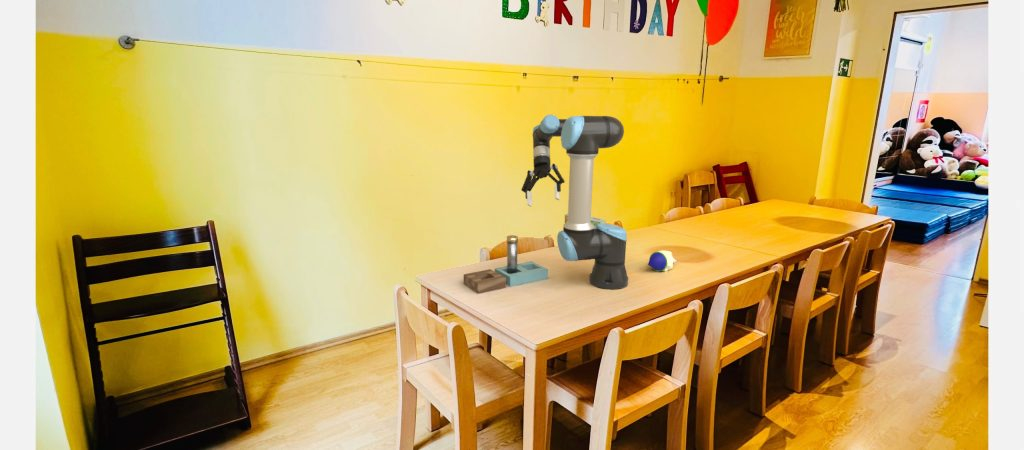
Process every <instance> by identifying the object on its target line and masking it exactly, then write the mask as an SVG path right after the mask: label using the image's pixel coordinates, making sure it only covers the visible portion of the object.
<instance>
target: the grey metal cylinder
mask: <svg viewBox="0 0 1024 450" xmlns="http://www.w3.org/2000/svg"><path fill="white" fill-rule="evenodd" d="M506 243H507V244H506V246H507V247H506V258H507V259H506V266H507V273H508V274H513V273H517V264H518V243H519V236H518V235H512V234H511V235H507V236H506Z"/></svg>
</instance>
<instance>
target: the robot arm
mask: <svg viewBox="0 0 1024 450" xmlns="http://www.w3.org/2000/svg"><path fill="white" fill-rule="evenodd" d="M532 128H533V129H532V145H533V146H532V147H533V151H532V153H533V154H532V155H533V159H532V160H533V170H527V173H526V174H527V175H526V178H525V179H524V183H523V185H522V187H521V190H520V191H522V192H523V193H525V199H526V205H527V206H529V207H532V206H533V203H532V202H533V201H532V196H533V195H532V192H531V191H532V189H533V188H534V186H535V185H536V183H537V182H538V181H539V180H540V179H545V178H547V177H549V178H550V179H551V181H553V182H554V199H555V200H557V201H560V193H561V190H562V189H561V187H562V184H565V182H566V181H565V179H564V178H563V176H562V174H561V173H560V171H559V168H558V165H556V164H555V163H552V164H551V143H550V141H552V139H553V137H555V138H556V137H557V138H558V137H560V142H561V147H562V149H564V150H565V151H566V152H565V153H566V155H567V156H568V157H569V177H568V179H569V180H568V181H569V182H568V201H567V203H568V204H567V214H568V221H567V222H566V223H565V222H564V224H563V228H562V230H559V232H558V233H557V236H556V237H557V238H556V241H557V247H558V251H559V253H560V255H561V257H562V258H563V260H564V261H567V262H578V261H580V262H581V261H591V260H594V263H593V267H592V270H591V273H590V274H589V283H590V285H592V286H594V287H597V288H600V289H604V290H605V289H606V290H619V289H623V288H625V287H626V288H627V286H628V284H629V277H628V275H627V274H628V273H627V270H626V265H625V264H626V250H627V240H628V238H627V231H626V229H625V228H623V227H621V226H619V225H615V224H609V223H605V224H597V226H596V229H594V225H593V224H592V223H591V217H592V199H593V184H594V183H593V181H594V179H593V178H594V164H595V163H594V162H595V160H594V159H595V158H596V157H597V156H598V155H599V149H609V148H613V147H615V146H617V145H618V144H619V143H620V142H621V141H622V140H623V138H624V134H625V127H624V125H623V123H622V122H621V120H619V119H618V118H616V117H614V116H610V115H572V116H570V117H568V118H567V119H566V118H559V117H557V116H556V115H553V114H547V115H546V116H544V117H543V119H542V120H541V121H540V123H539V124H537V125H535V126H534V127H532ZM551 171H553V172H554V173H555V175H556V177H557V178H558V179H557V178H556V177H555V176H554V175H553V174H551V173H550V172H551Z"/></svg>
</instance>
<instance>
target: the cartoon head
mask: <svg viewBox="0 0 1024 450" xmlns="http://www.w3.org/2000/svg"><path fill="white" fill-rule="evenodd" d="M677 262H678V260H676V259H675V258H674V256H673V252H671V251H670V250H663V249H662V250H658V251H654V252H652V253H651V254H650V256H649V260H648V263H647V266H649V267H651V268H652V269H653V270H654V271H657V272H662V271H663V272H664V273H665V272H668V271H669V270H672V269H673V268H674V264H675V263H677Z"/></svg>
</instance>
